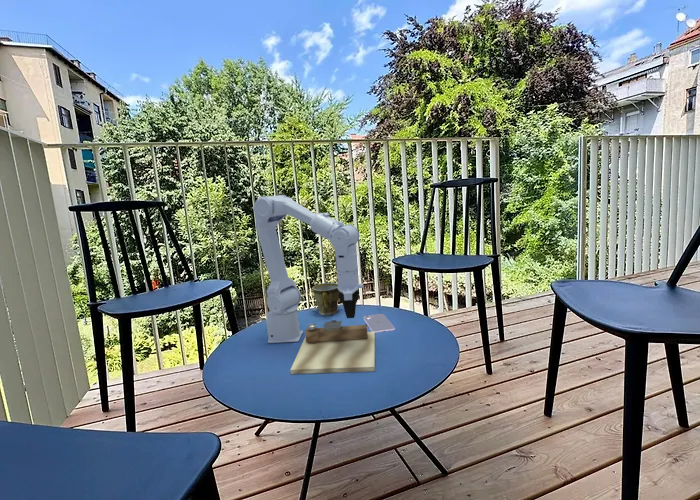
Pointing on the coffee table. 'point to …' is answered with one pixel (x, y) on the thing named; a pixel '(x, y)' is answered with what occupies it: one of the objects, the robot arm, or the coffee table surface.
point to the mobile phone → (378, 323)
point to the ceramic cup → (326, 298)
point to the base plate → (336, 356)
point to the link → (336, 334)
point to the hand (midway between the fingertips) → (350, 317)
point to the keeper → (328, 326)
